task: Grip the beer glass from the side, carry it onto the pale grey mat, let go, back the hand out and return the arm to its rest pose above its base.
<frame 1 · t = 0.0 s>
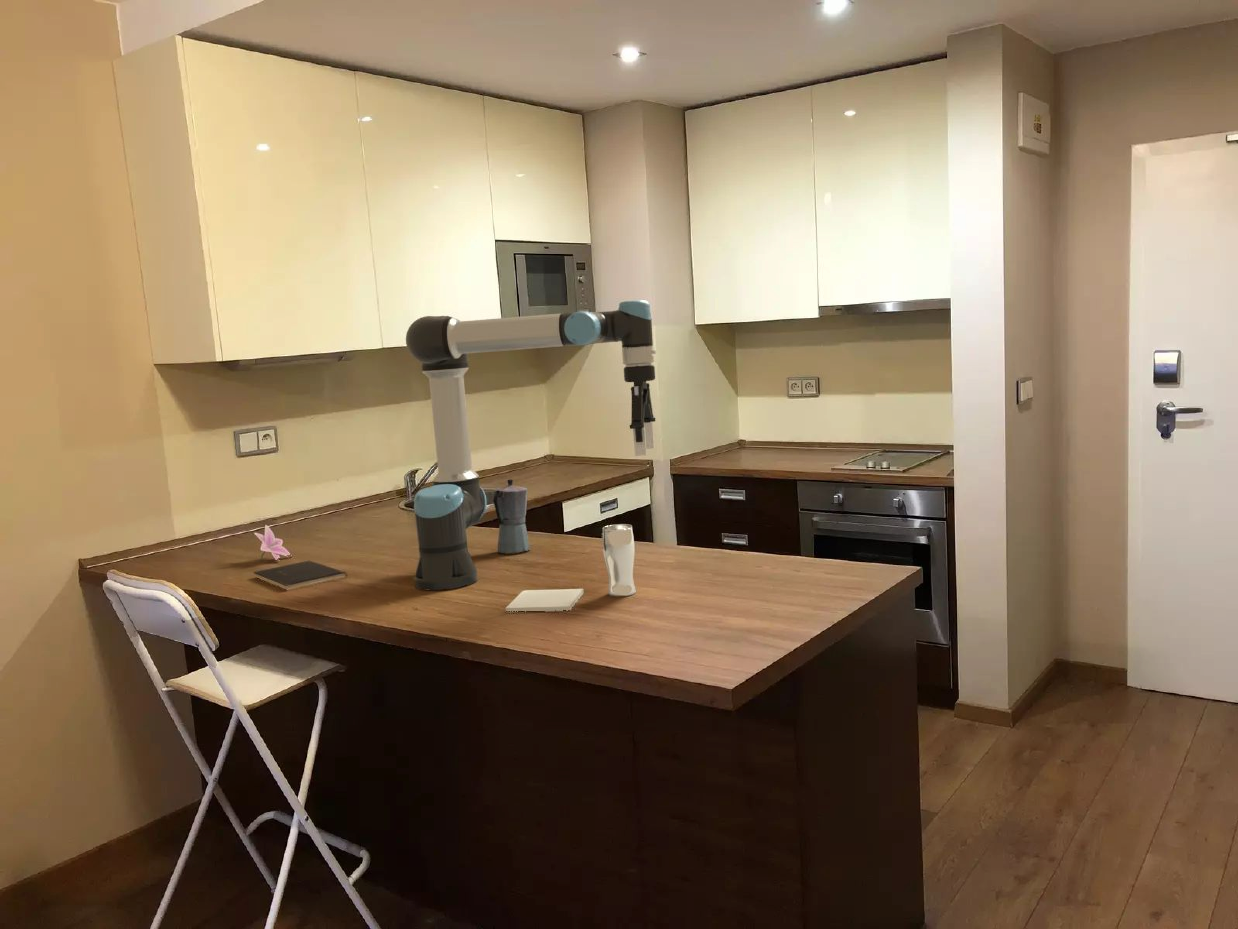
hand: (645, 451, 241), 28 cm above the countertop, tool pointing down, fingers open, 13 cm apart
mat: (545, 602, 215), on the countertop
moka pot: (514, 552, 270), on the countertop
lily: (273, 561, 283), on the countertop
hardcover book: (300, 581, 258), on the countertop
beer glass: (622, 594, 218), on the countertop
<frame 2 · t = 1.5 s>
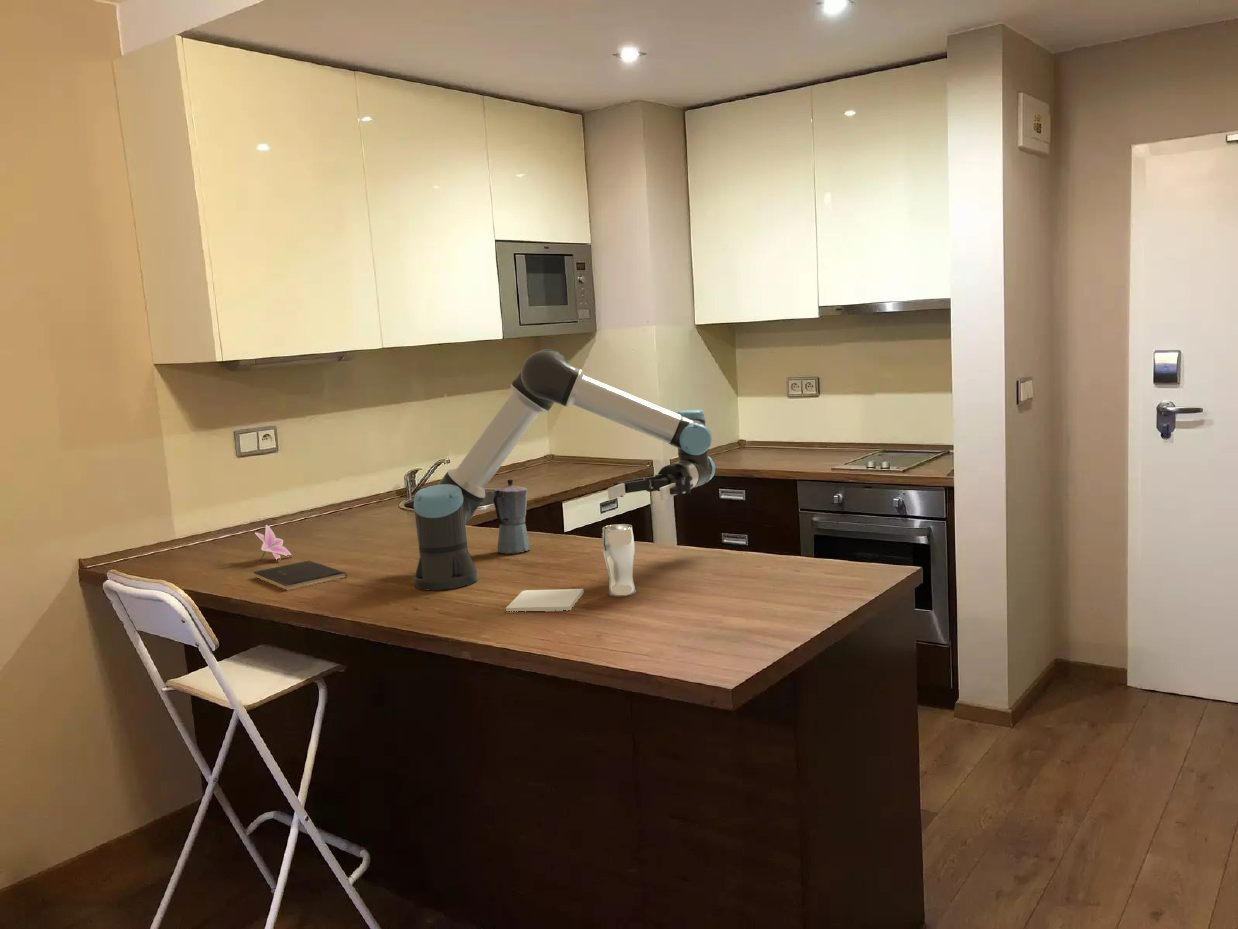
hand: (635, 494, 224), 21 cm above the countertop, tool horizontal, fingers open, 13 cm apart
nothing on the countertop moved.
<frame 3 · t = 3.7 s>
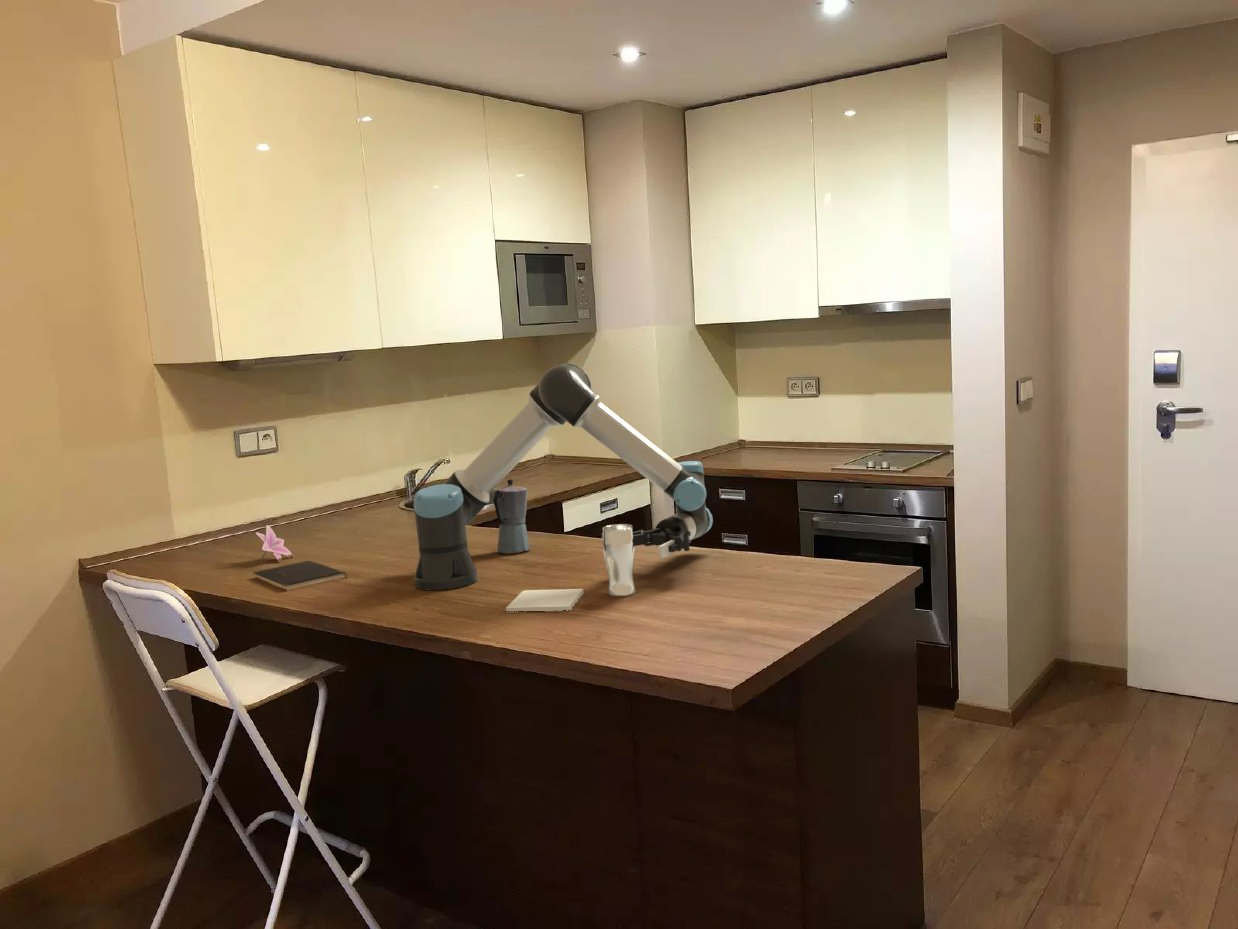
hand: (633, 551, 222), 8 cm above the countertop, tool horizontal, fingers open, 13 cm apart
nothing on the countertop moved.
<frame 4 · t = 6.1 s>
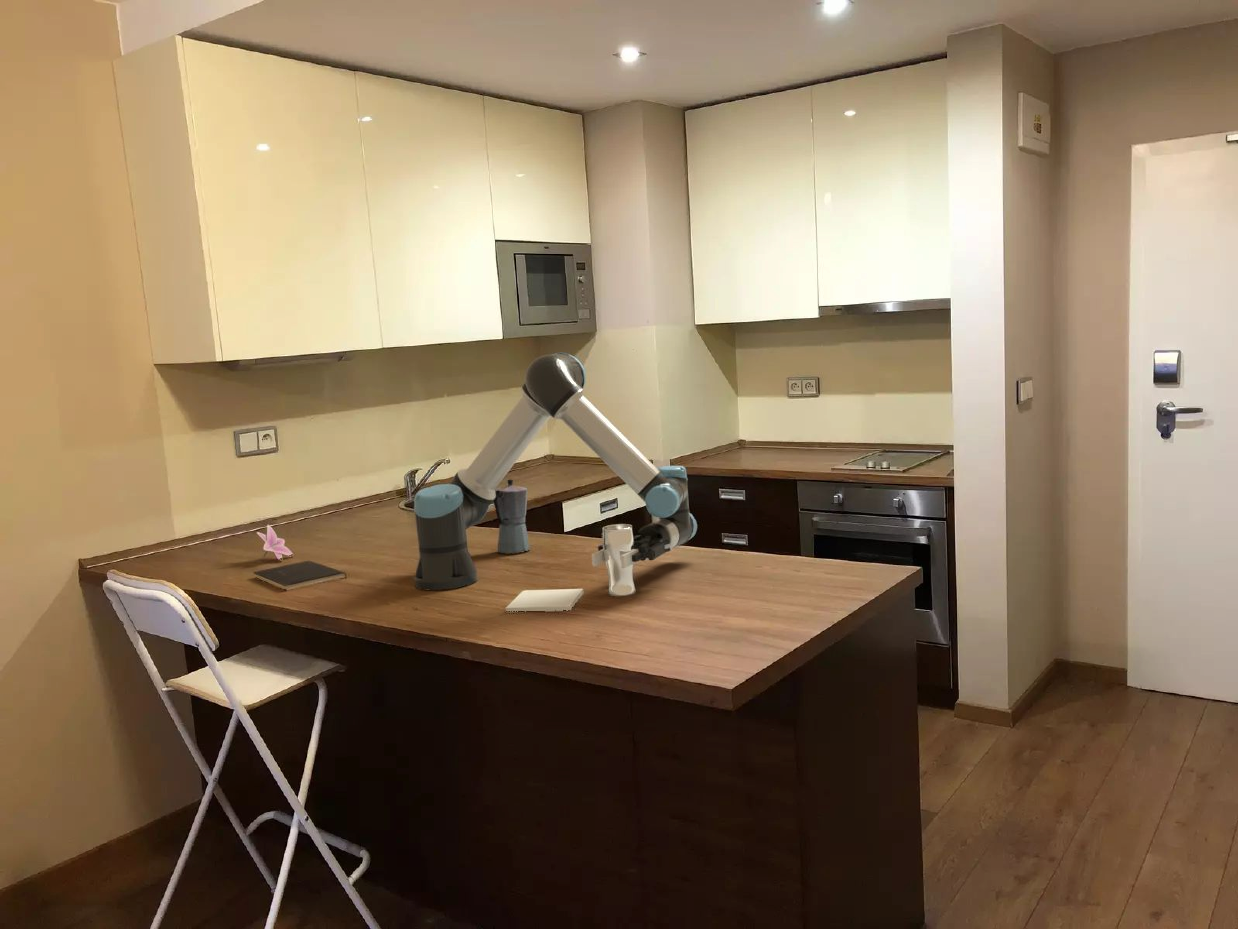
hand: (608, 561, 213), 9 cm above the countertop, tool horizontal, fingers closed on beer glass, 7 cm apart
beer glass: (622, 594, 218), on the countertop, touching gripper
everything else where it was.
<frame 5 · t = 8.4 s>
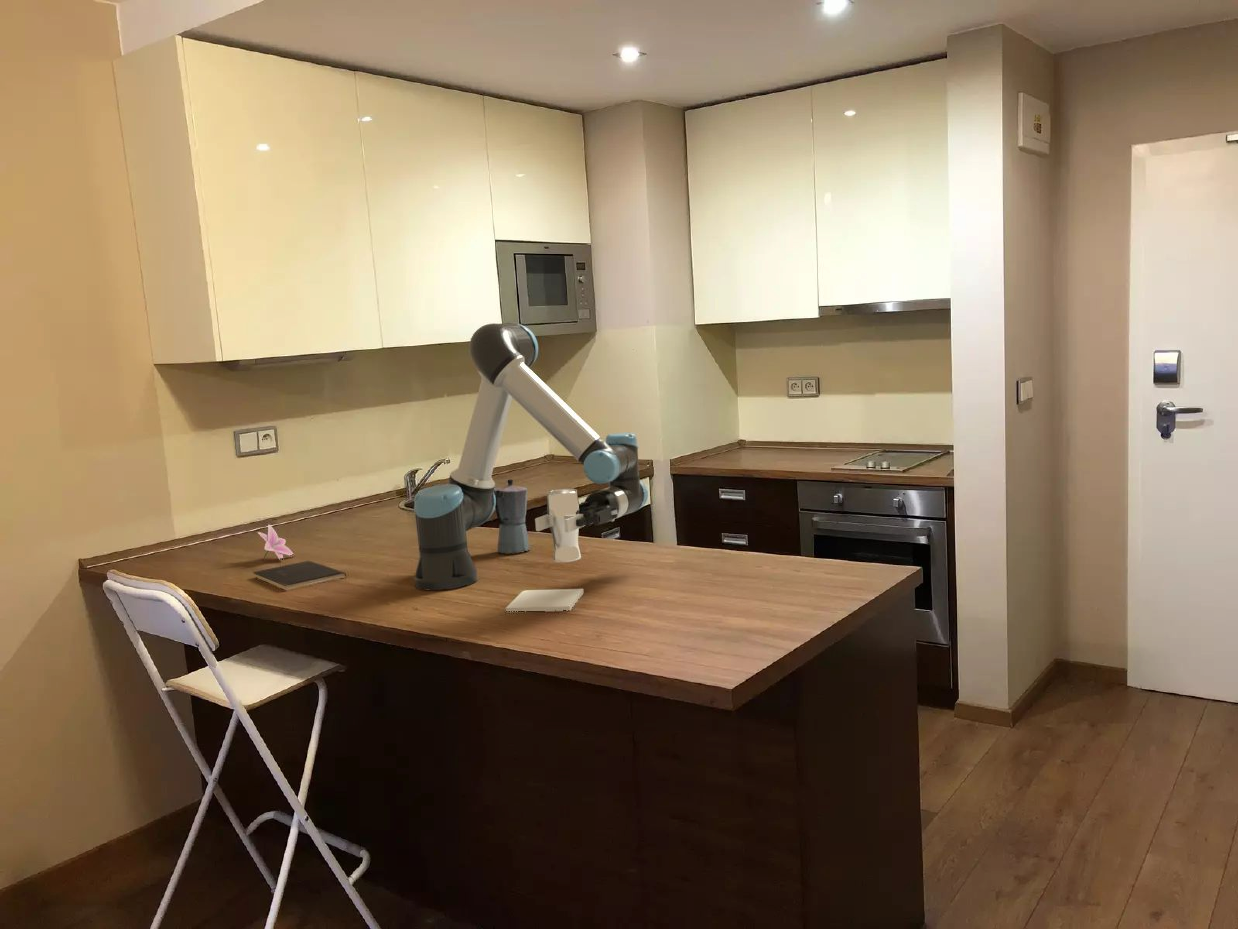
hand: (551, 525, 209), 18 cm above the countertop, tool horizontal, fingers closed on beer glass, 7 cm apart
beer glass: (567, 559, 214), point 9 cm above the countertop, touching gripper
everything else where it was.
when the fingers open (11 cm above the countertop, at t = 11.0 s): beer glass drops 1 cm, resting on mat.
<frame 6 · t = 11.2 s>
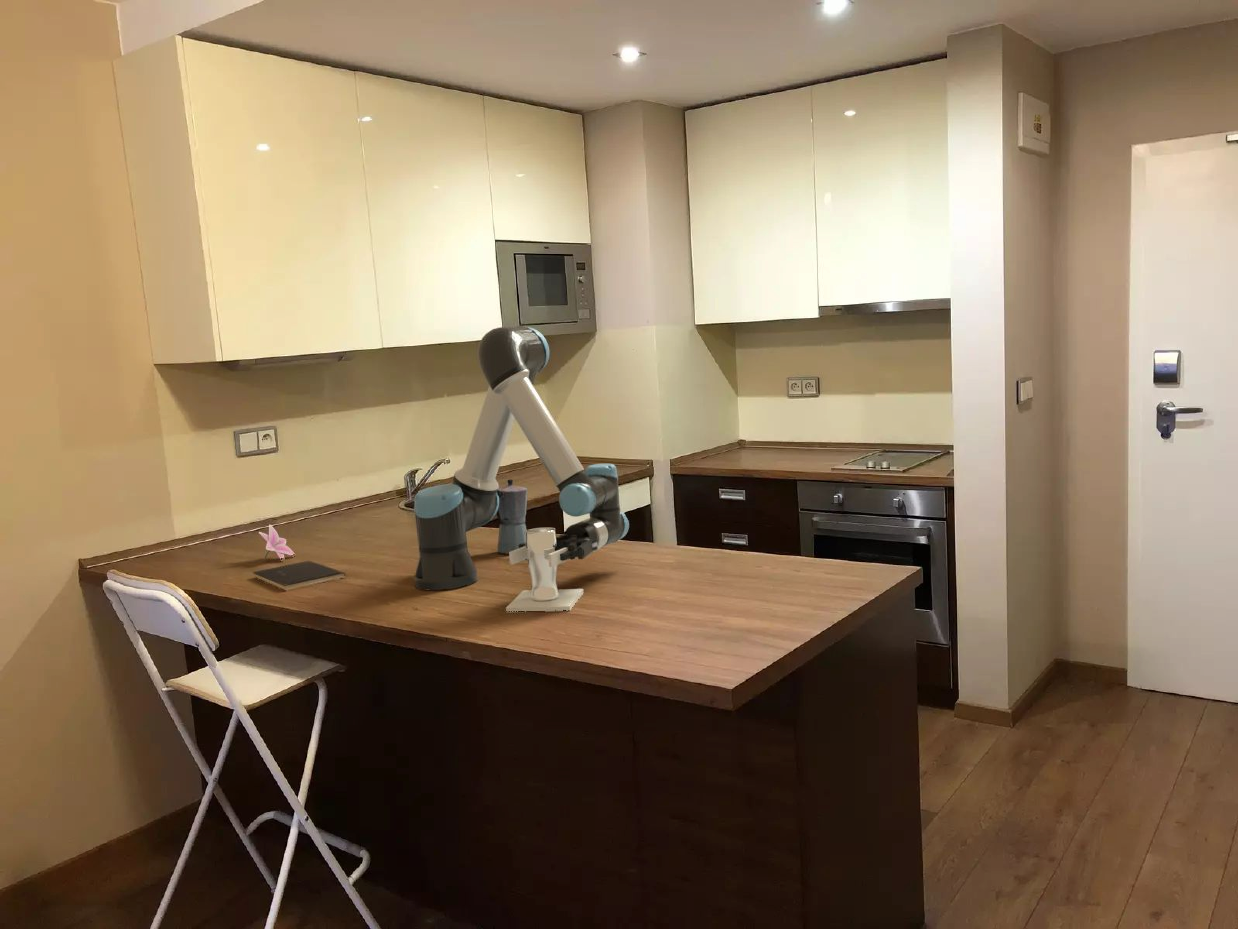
hand: (530, 559, 210), 11 cm above the countertop, tool horizontal, fingers open, 9 cm apart
beer glass: (545, 598, 215), point 1 cm above the countertop, touching mat
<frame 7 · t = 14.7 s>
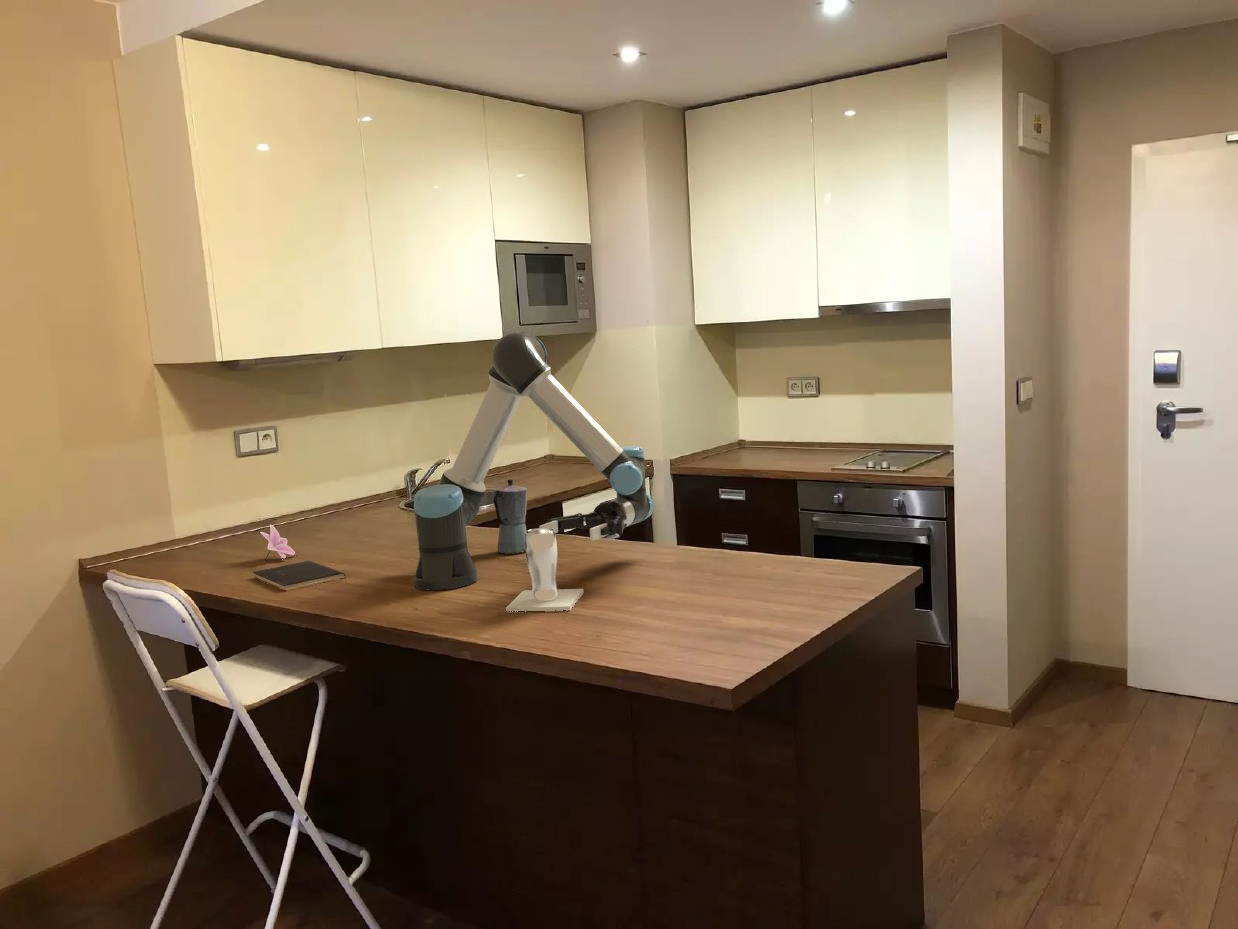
hand: (565, 533, 222), 13 cm above the countertop, tool horizontal, fingers open, 13 cm apart
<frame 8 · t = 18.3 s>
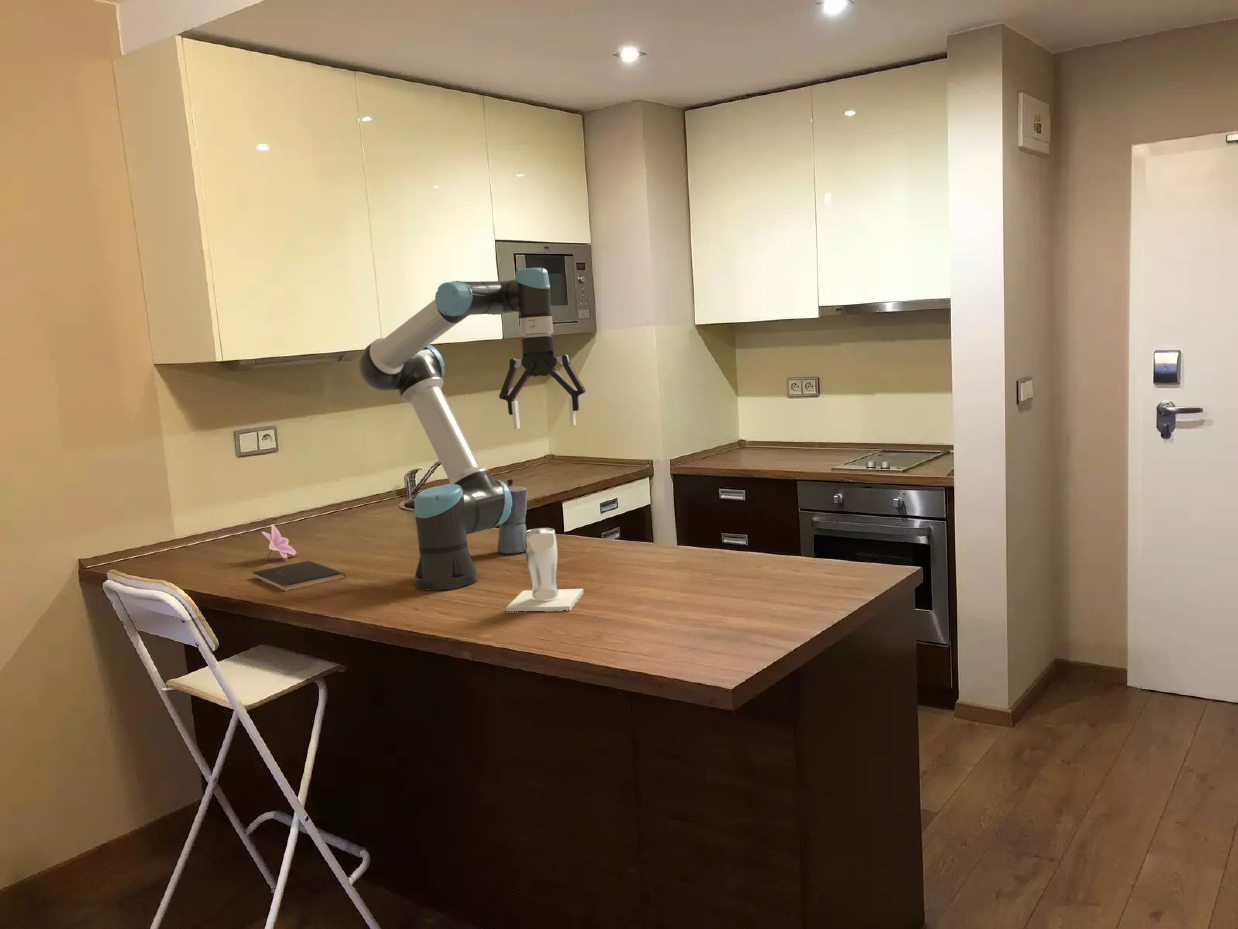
hand: (545, 427, 230), 37 cm above the countertop, tool pointing down, fingers open, 13 cm apart
at the end: beer glass inside the target area on the mat (0.0 cm from its centre), point 0.8 cm above the mat's base; beer glass tilted 0°; the gripper is holding nothing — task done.
